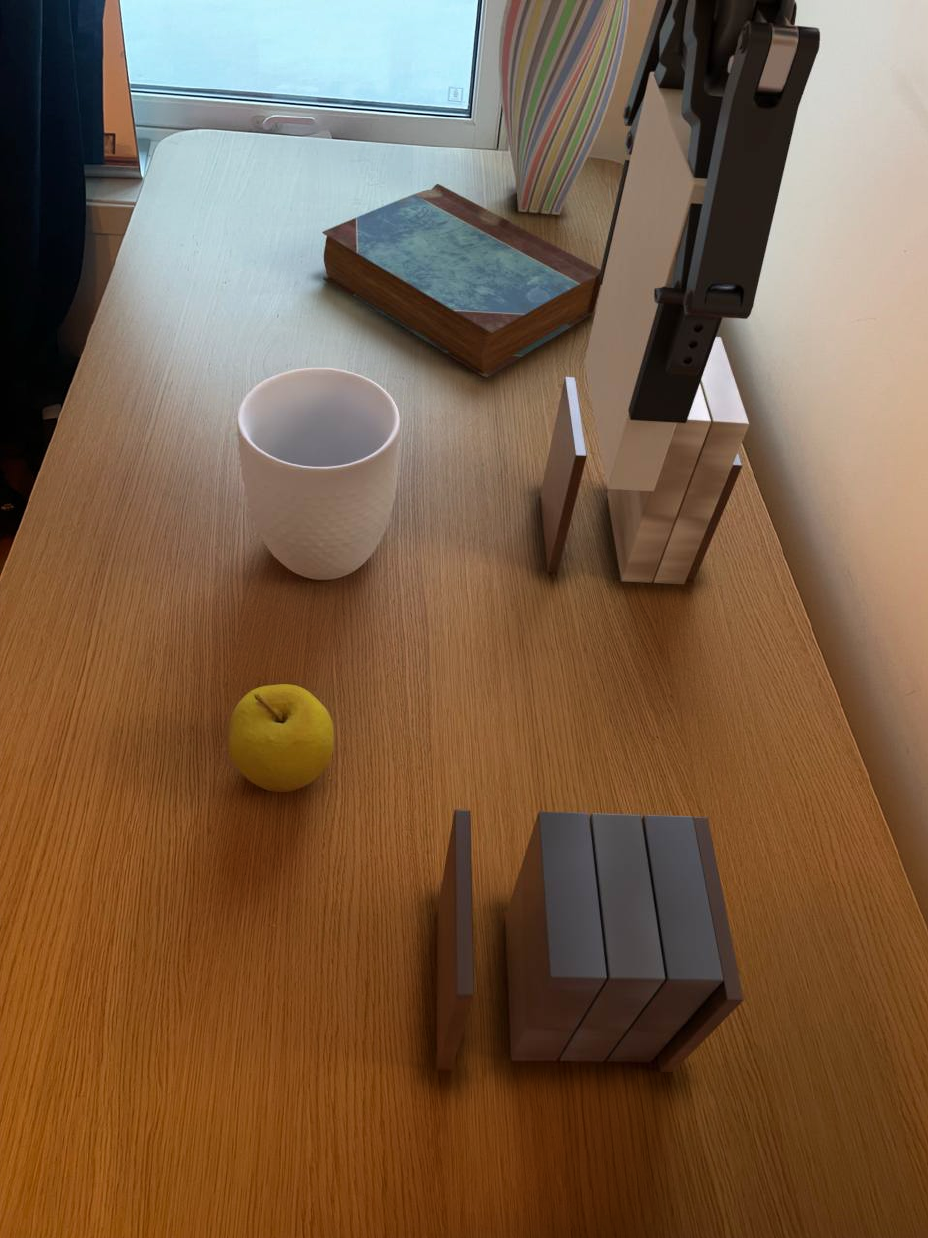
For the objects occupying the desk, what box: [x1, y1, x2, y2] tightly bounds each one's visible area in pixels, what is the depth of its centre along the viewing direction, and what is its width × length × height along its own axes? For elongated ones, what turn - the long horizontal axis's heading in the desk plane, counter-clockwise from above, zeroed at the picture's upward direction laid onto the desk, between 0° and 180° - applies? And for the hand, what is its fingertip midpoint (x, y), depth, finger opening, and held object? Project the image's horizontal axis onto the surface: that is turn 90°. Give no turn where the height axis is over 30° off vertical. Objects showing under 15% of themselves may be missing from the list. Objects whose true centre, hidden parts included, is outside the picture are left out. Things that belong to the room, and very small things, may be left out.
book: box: [321, 183, 602, 379], centre depth 96 cm, size 23×18×5 cm
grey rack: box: [436, 808, 745, 1073], centre depth 48 cm, size 13×9×13 cm
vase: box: [498, 0, 630, 216], centre depth 101 cm, size 14×14×30 cm
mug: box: [236, 367, 401, 581], centre depth 69 cm, size 15×11×13 cm
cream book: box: [583, 72, 707, 491], centre depth 46 cm, size 2×11×16 cm, turn 2°
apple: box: [228, 683, 335, 793], centre depth 57 cm, size 6×6×8 cm
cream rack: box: [539, 336, 750, 585], centre depth 71 cm, size 12×10×16 cm
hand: (638, 344), depth 48 cm, fingers closed on cream book, 11 cm apart
